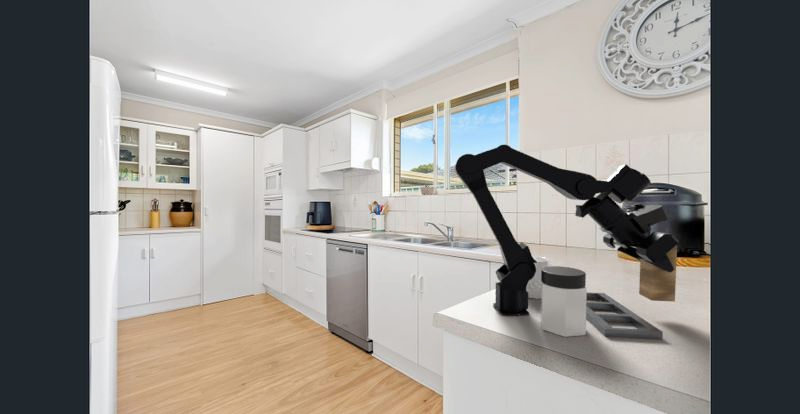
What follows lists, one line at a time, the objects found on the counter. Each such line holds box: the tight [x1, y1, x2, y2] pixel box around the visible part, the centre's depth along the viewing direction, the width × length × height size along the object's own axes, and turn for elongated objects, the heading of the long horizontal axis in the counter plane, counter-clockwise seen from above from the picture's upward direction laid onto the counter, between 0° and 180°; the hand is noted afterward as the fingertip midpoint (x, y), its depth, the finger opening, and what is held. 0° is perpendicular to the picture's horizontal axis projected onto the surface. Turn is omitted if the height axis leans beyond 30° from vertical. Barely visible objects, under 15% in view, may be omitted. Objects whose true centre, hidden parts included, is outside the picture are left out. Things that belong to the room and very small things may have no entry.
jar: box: [540, 265, 588, 338], centre depth 65 cm, size 9×8×12 cm
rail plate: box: [586, 292, 664, 341], centre depth 72 cm, size 10×23×2 cm, turn 171°
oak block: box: [638, 244, 678, 303], centre depth 70 cm, size 4×4×13 cm
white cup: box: [526, 255, 549, 299], centre depth 86 cm, size 8×8×10 cm
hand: (664, 268), depth 70 cm, fingers closed on oak block, 4 cm apart
